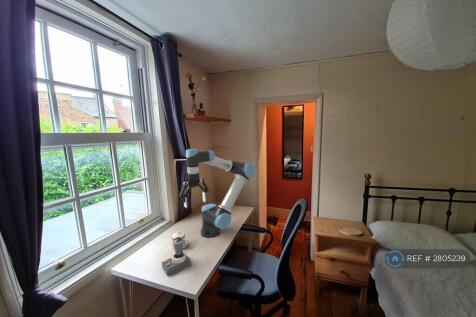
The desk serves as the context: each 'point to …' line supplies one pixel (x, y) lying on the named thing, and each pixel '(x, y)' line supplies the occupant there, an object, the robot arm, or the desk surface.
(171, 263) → the camera body
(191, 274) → the desk surface
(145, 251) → the desk surface
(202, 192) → the robot arm
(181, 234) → the teacup with lid
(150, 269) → the desk surface
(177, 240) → the grey flashlight
